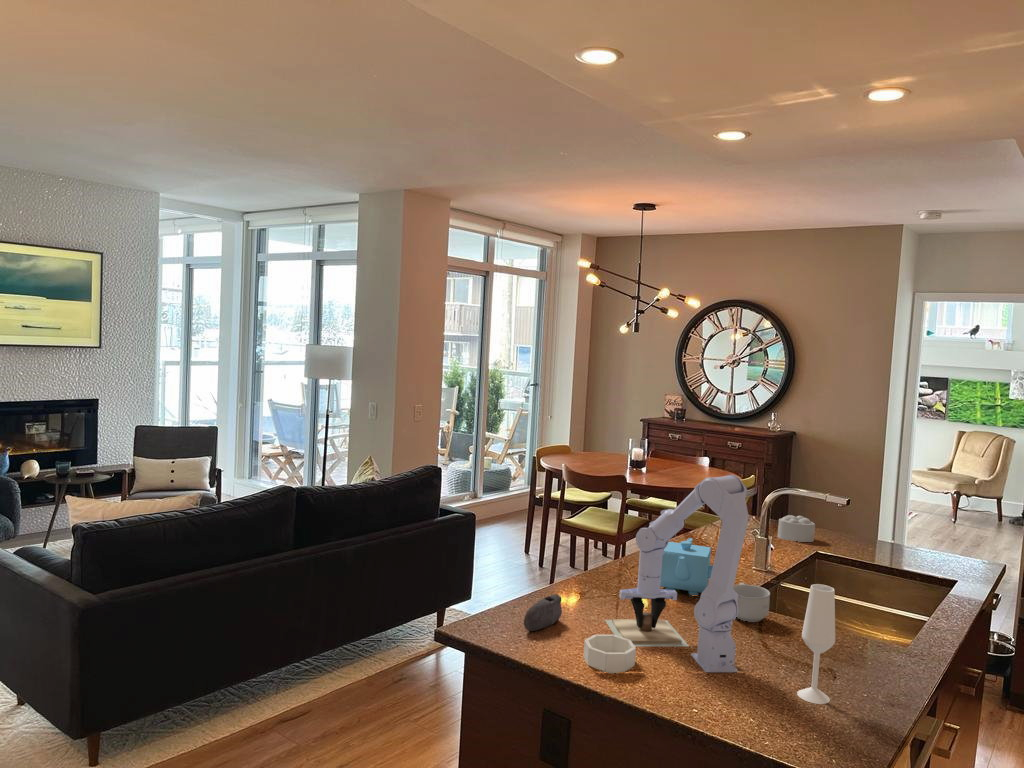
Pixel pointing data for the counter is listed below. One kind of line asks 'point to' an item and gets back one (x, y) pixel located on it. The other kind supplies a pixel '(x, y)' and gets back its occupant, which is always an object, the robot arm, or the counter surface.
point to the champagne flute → (818, 635)
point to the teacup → (752, 602)
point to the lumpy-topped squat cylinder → (796, 529)
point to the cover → (646, 631)
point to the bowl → (609, 653)
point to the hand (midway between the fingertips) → (646, 626)
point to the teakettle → (686, 567)
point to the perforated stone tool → (543, 613)
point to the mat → (650, 644)
